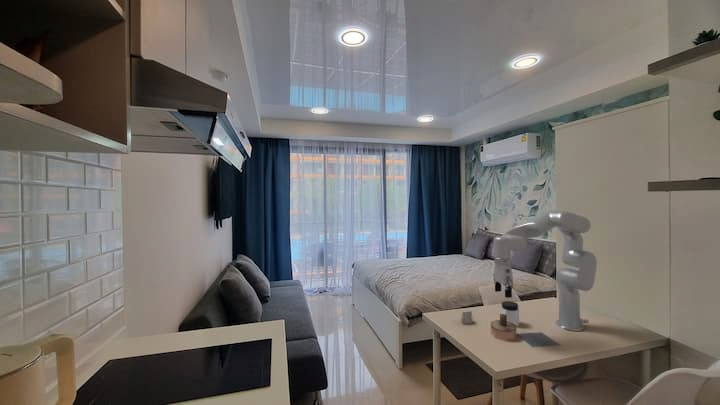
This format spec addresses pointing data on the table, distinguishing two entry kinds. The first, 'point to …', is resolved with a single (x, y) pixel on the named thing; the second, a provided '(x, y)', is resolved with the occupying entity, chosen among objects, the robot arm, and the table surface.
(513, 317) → the jar
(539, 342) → the mat
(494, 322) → the lid
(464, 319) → the architectural model
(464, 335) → the table surface
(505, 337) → the bowl
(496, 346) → the table surface
